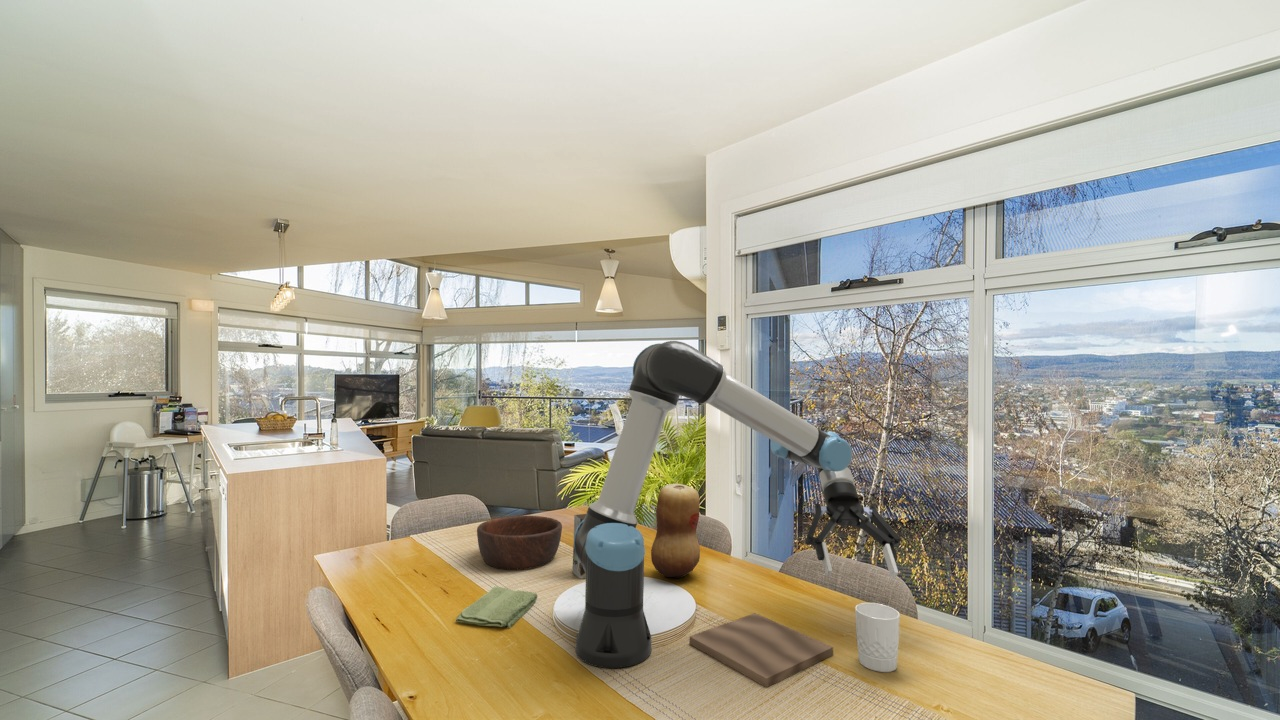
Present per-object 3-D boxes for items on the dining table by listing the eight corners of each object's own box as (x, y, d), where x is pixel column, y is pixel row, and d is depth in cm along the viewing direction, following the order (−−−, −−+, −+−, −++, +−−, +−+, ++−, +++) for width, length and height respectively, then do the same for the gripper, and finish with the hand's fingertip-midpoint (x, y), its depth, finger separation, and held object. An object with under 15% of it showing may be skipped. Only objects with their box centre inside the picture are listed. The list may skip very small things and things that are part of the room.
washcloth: (452, 626, 120) (452, 611, 120) (493, 596, 137) (493, 583, 137) (506, 634, 117) (507, 618, 117) (541, 602, 134) (542, 589, 134)
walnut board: (766, 687, 97) (766, 678, 97) (689, 643, 113) (689, 636, 113) (833, 654, 109) (832, 647, 109) (754, 619, 125) (754, 612, 125)
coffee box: (580, 579, 149) (581, 519, 149) (572, 572, 154) (573, 514, 155) (611, 574, 153) (612, 516, 154) (601, 567, 159) (602, 511, 159)
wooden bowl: (553, 574, 153) (554, 537, 153) (464, 573, 153) (465, 535, 153) (567, 548, 178) (567, 515, 178) (489, 546, 178) (490, 514, 178)
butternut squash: (685, 588, 143) (686, 491, 144) (641, 578, 150) (643, 486, 151) (708, 573, 155) (708, 484, 156) (666, 564, 162) (667, 479, 163)
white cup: (905, 676, 101) (904, 621, 101) (859, 671, 103) (859, 616, 103) (894, 656, 109) (893, 604, 109) (852, 651, 110) (851, 600, 111)
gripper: (887, 499, 133) (916, 584, 118) (783, 496, 134) (798, 581, 119) (896, 480, 128) (928, 567, 113) (788, 478, 129) (805, 564, 114)
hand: (861, 574), depth 116 cm, fingers open, 13 cm apart
